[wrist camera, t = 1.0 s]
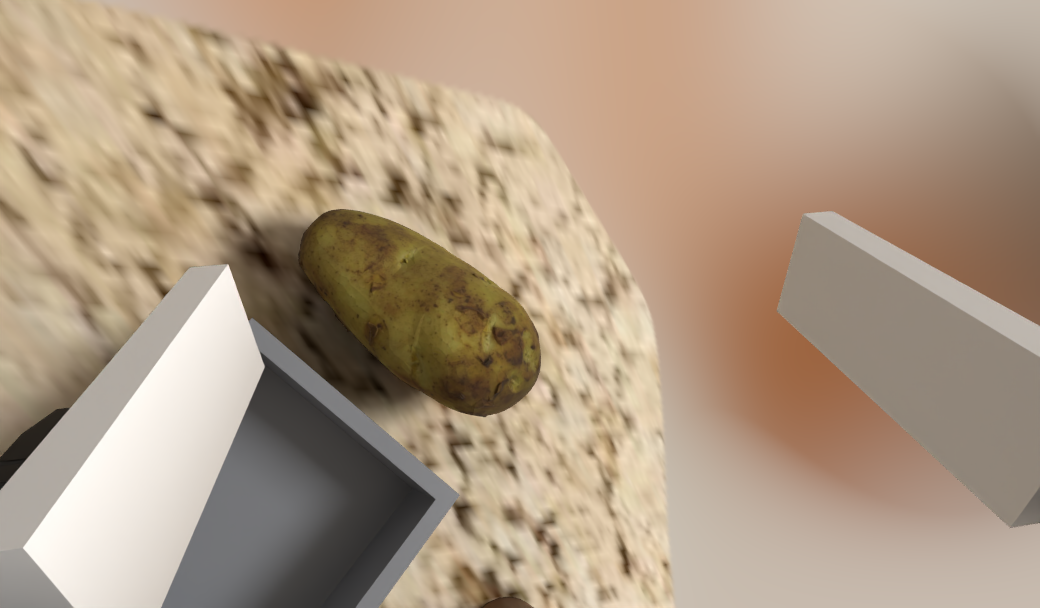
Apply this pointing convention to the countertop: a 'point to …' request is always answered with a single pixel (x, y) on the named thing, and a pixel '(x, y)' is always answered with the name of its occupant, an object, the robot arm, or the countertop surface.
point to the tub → (307, 502)
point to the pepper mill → (507, 603)
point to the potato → (423, 311)
